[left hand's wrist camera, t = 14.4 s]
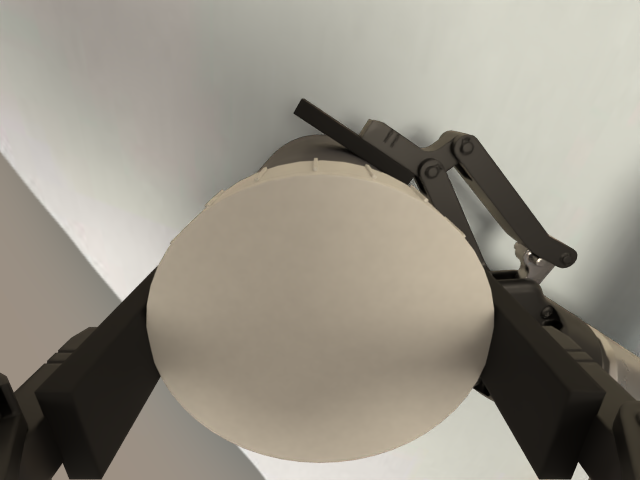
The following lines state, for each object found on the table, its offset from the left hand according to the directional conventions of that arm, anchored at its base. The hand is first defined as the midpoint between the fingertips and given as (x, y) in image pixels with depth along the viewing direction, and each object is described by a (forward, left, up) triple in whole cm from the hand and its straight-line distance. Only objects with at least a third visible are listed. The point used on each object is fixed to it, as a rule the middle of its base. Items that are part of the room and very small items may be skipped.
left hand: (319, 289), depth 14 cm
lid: (0, 0, +3) cm, 3 cm away
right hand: (-4, -2, -6) cm, 8 cm away
